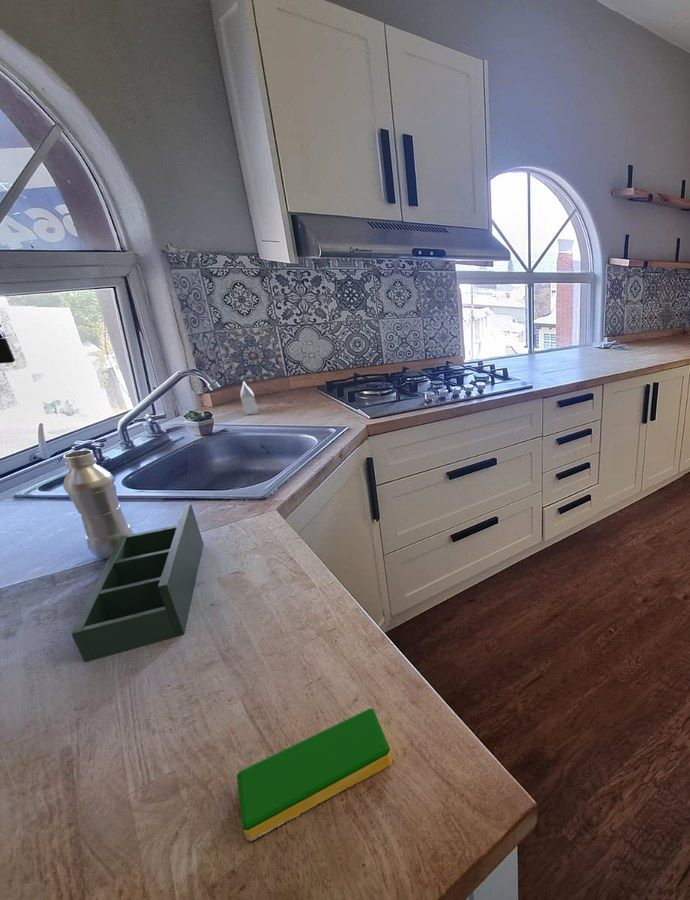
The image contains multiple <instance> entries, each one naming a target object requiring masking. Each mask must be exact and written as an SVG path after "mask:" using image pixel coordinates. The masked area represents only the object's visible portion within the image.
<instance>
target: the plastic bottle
mask: <svg viewBox="0 0 690 900" xmlns="http://www.w3.org/2000/svg"><path fill="white" fill-rule="evenodd" d="M63 459H64V462H65V467H66V468H68V469H69V470H68V471H67V473H66V475H65V477H64V480H63V489H64V491H65V493H66V494H67V496H68V497H69V500H71V502H72V503H73V505H74V507H75V509H76V511H77V513H78V514H79V517H80V519H81V522H82V524H83V528H84V532H85V541H86V546H87V549H88V550H89V551H90V553H91V554H92V555H93V556H94V557H96V558H100V559H109V558H110V556H111V554H112V552H113V550H114V548H115V546H116V544H117V542H118V540H119V538H120V536H125V535H131V534H136V533H135V531H134V530H133V528H132V527H131V525H130V524H129V523H128V521H127V518H126V516H125V515H124V513H123V511H122V508H121V505H120V502H119V498H118V494H117V488H116V482H115V478H114V475H113V474H112V473H111V472H110V470H107V469H106V468H104V467H102V465H100V464H97V462H98V460H97V458H96V456H95V454H94V452H93V450H90V449H81V450H74V451H71V452H67V453H65V454H64V455H63Z"/></svg>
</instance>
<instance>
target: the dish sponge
mask: <svg viewBox="0 0 690 900" xmlns="http://www.w3.org/2000/svg"><path fill="white" fill-rule="evenodd" d="M392 762H393V758H392V753H391V748H390V745H389V742H388V741H387V737H386V735H385V733H384V731H383V728H382V725H381V723H380V721H379V719H378V716H377V714H376V712H375V709H374V708H367V709H366V710H363V711H362V712H359V713H357V714H355V715H354V716H351V717H349V718H347V719H345V720H342V721H340V722H338V723H337V724H335V725H332V726H331V727H330V726H329V727H328V728H326V729H324V730H322V731H319V732H317V733H316V734H314V735H311V736H309V737H308V738H305V739H303V740H301V741H300V742H298V743H295V744H293V745H291V746H288V747H287V748H285V749H282V750H280V751H278V752H276V753H274V754H272V755H270V756H268V757H266V758H264V759H262V760H260V761H258V762H256V763H253V764H251V765H250V766H247V767H245V768H243V769H240V771H238V772H237V774H236V783H237V791H238V800H239V809H240V810H239V811H240V817H241V827H242V830H243V833H244V835H245V838H246V839H247V837H248V838H253V837H255V836H257V835H259V834H261V833H263V832H265V831H267V830H269V829H271V828H273V827H275V826H277V825H278V824H281V823H282V822H285V821H287V820H289V819H291V818H293V817H295V816H297V815H299V814H301V813H303V812H305V811H306V810H308V809H310V808H312V807H314V806H316V805H317V804H319V803H321V802H323V801H325V800H327V799H328V798H330V797H332V796H334V795H336V794H337V793H339V792H341V791H343V790H345V789H346V788H348V787H350V788H352V787H353V785H354V784H355V785H357V784H359V783H361V782H362V780H363V781H364V780H366V779H368V778H370V777H371V776H374V775H376V774H377V773H379V772H381V771H383V770H384V769H386V768H388V767H390V766H391V764H392ZM358 782H359V783H358ZM356 783H357V784H356ZM355 785H354V786H355ZM351 786H352V787H351ZM348 789H349V788H348ZM346 790H347V789H346ZM346 790H345V791H346ZM343 792H344V791H343ZM341 793H342V792H341ZM339 794H340V793H339ZM336 796H337V795H336ZM334 797H335V796H334ZM332 798H333V797H332ZM330 799H331V798H330ZM327 801H328V800H327ZM325 802H326V801H325ZM323 803H324V802H323ZM321 804H322V803H321ZM316 807H317V806H316ZM314 808H315V807H314ZM312 809H313V808H312ZM305 813H306V812H305ZM303 814H304V813H303Z"/></svg>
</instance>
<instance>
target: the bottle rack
mask: <svg viewBox="0 0 690 900" xmlns="http://www.w3.org/2000/svg"><path fill="white" fill-rule="evenodd" d="M203 548H204V540H203V536H202V535H201V531H200V528H199V524H198V521H197V519H196V515H195V512H194V509H193V505H192V503H191V502H188V503H184V504H183V507H182V509H181V512H180V516H179V519H178V522H177V524H176V525H172V526H167V527H163V528H162V527H161V528H158V529H152V530H145V531H142V532H137V533H135V534H131V535H125V536H120V538H119V540H118V542H117V544H116V546H115V548H114V550H113V552H112V554H111V556H110V558H108V559H107V562H106V563H105V566H104V568H103V569H102V572H101V574H100V576H99V578H98V580H97V582H96V584H95V585H94V587H93V589H92V592H91V594H90V596H89V598H88V600H87V601H86V604H85V606H84V607H83V610H82V611H81V613H80V616H79V618H78V620H77V621H76V624H75V625H74V628H73V630H72V632H71V636H72V639H73V641H74V643H75V645H76V647H77V649H78V651H79V653H80V656H81V658H82V661H83V662H84V663H85V662H86V663H87V662H90V661H93V660H98V659H101V658H104V657H108V656H111V655H115V654H119V653H122V652H125V651H128V650H133V649H136V648H139V647H143V646H146V645H150V644H154V643H158V642H161V641H165V640H169V639H172V638H176V637H179V636H183V635H185V633H186V628H187V624H188V618H189V614H190V609H191V604H192V599H193V595H194V590H195V585H196V581H197V576H198V573H199V572H198V571H199V567H200V563H201V558H202V554H203Z"/></svg>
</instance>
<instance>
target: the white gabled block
mask: <svg viewBox="0 0 690 900" xmlns="http://www.w3.org/2000/svg"><path fill="white" fill-rule="evenodd" d="M239 395H240V396H239V397H240V400H241V404H242V408H243V412H244V416H249V415H250V416H251V415H257V414H259V411H258V406H257V401H256V399H255V395H254V391H253V390H252V389H251V388H250V387H249V386H248V385H247V383H246V381H245V380H244V381H243V380H242V386H241V389H240V393H239Z"/></svg>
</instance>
